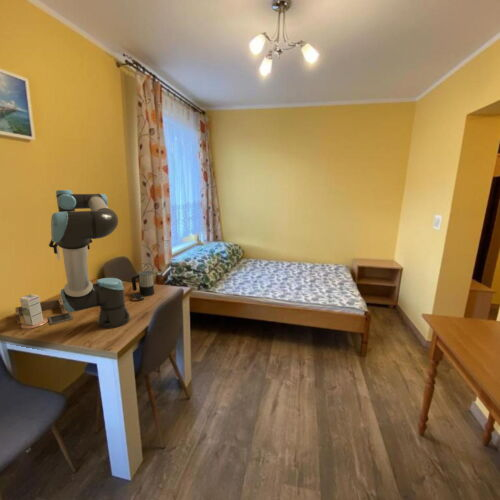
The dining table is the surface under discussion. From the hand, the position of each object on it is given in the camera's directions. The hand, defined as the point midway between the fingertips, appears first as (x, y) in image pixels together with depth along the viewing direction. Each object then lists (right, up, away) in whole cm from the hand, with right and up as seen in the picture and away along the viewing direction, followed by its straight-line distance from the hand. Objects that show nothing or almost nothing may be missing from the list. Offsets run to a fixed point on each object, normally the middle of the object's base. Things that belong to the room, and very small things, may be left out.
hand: (73, 257), depth 152 cm
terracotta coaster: (-13, -34, -11) cm, 38 cm away
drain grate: (-3, -33, -5) cm, 33 cm away
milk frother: (+29, -26, +26) cm, 47 cm away
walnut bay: (-18, -32, -1) cm, 36 cm away
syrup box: (-13, -34, -11) cm, 38 cm away
